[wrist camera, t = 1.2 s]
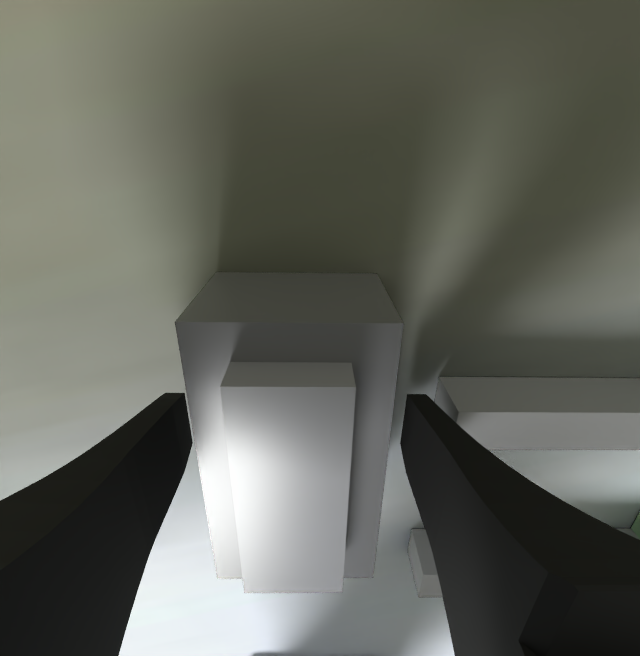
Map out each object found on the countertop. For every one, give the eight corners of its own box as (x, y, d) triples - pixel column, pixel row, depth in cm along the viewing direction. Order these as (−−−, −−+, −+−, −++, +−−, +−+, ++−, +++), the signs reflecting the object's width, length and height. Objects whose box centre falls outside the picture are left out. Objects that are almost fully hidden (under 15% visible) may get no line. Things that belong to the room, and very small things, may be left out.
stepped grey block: (376, 271, 12) (414, 344, 7) (359, 479, 16) (378, 612, 11) (217, 270, 12) (157, 343, 7) (239, 479, 16) (209, 613, 11)
